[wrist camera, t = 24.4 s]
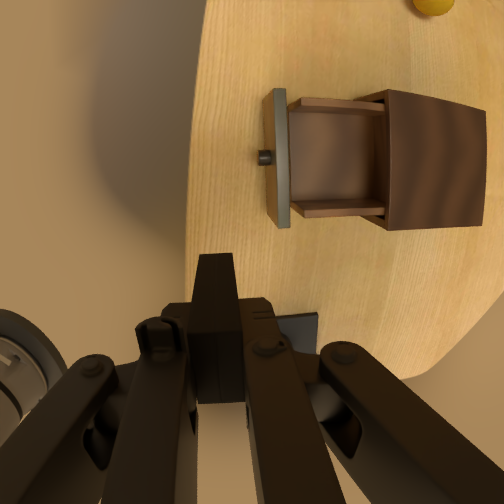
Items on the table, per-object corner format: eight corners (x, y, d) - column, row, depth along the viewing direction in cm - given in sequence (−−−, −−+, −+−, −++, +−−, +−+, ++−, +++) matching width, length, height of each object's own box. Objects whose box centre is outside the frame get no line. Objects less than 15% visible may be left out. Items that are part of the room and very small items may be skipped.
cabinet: (354, 213, 38) (388, 231, 30) (352, 99, 33) (388, 88, 25) (442, 210, 39) (482, 226, 31) (443, 113, 35) (485, 111, 26)
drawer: (256, 214, 36) (265, 229, 29) (251, 100, 32) (259, 88, 25) (374, 209, 37) (402, 222, 31) (373, 105, 33) (403, 98, 26)
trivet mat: (226, 373, 44) (226, 376, 43) (220, 321, 41) (220, 324, 40) (313, 363, 45) (314, 366, 44) (316, 312, 42) (318, 314, 41)
